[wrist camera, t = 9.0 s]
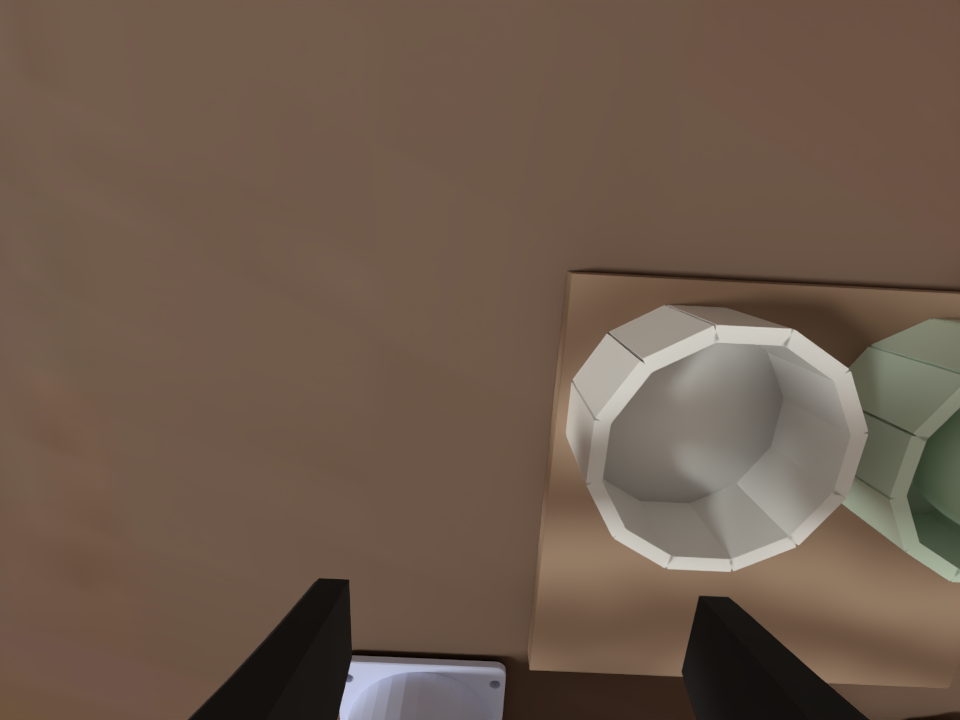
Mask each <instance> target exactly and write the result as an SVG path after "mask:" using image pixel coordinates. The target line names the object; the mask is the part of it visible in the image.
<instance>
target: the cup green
mask: <svg viewBox="0 0 960 720" xmlns="http://www.w3.org/2000/svg"><path fill="white" fill-rule="evenodd" d="M848 369H849V371H851V374H852V377H853V380H854V384H855V387H856V391H857V394H858V398H859V401H860V404H861V408H862V411H863V415H864V418H865V421H866V425H867V428H868V432H865V433H867V434H868V437H867V440H866V443H865V446H864V449H863V452H862V455H861V458H860V461H859V464H858V467H857V471H856V474H855V477H854V480H853V483H852V486H851V489H850V492H849V495H848V496H846V495H843V496H845V497H846V499H845V500H844V501H843V502H842V504H843V505H844V506H845V507H847V508H848V509H849V510H851V511H852V512H853V513H855V514H856V515H857V516H859V517H860V518H861V519H863V520H864V521H865V522H866V523H868V524H869V525H870V526H872V527H873V528H874V529H876V530H877V531H878V532H880V533H881V534H882V535H884V536H885V537H886V538H887V539H889V540H890V541H891V542H893V543H894V544H895V545H897V546H898V547H899V548H901V549H902V550H903V551H905V552H906V553H907V554H909V555H910V556H912V557H914V558H915V559H917V560H918V561H920V562H921V563H923V564H924V565H926V566H927V567H929V568H930V569H932V570H933V571H935V572H936V573H938V574H939V575H941V576H942V577H944V578H945V579H947V580H948V581H951V582H960V525H959V524H957V523H956V522H954V521H952V520H951V519H949V518H948V517H946V516H945V515H944V514H942V513H941V512H940V511H939V510H938V509H936V508H935V507H934V506H933V505H932V504H930V502H929V501H928V500H927V499H926V498H925V497H924V496H923V494H922V493H921V492H920V491H919V489H918V488H917V486H916V485H915V483H914V481H913V477H914V474H915V471H916V468H917V466H918V463H919V460H920V457H921V455H922V452H923V449H924V447H925V444H926V441H927V439H928V438H929V437H930V436H931V435H932V434H933V433H934V432H935V431H936V430H937V429H938V428H939V427H941V426H942V425H943V424H944V423H945V422H946V421H947V420H948V419H949V418H950V417H951V416H952V415H953V414H954V413H955V412H956V411H957V410H958V409H959V408H960V320H954V319H935V318H933V319H929V320H927V321H924V322H922V323H920V324H917V325H915V326H913V327H911V328H908V329H906V330H904V331H901V332H899V333H897V334H895V335H892V336H890V337H888V338H885V339H883V340H881V341H879V342H876V343H874V344H872V345H871V347H868V348H867V349H866V350H865V351H864V352H863V353H862V354H861V355H860V356H859V357H858V358H857V359H856V361H855V362H854V363H853V364H852V365H851V366H850V367H849V368H848Z"/></svg>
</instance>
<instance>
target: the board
mask: <svg viewBox="0 0 960 720" xmlns="http://www.w3.org/2000/svg"><path fill="white" fill-rule="evenodd" d="M664 305H665V306H667V305H684V306H703V307H723V308H729V309H732V310H735V311H738V312H741V313H744V314H747V315H751V316H754V317H757V318H760V319H763V320H766V321H769V322H772V323H776V324H779V325H782V326H785V327H788V328H791V329H794V330H796V331H798V332H799V333H800V334H802V335H803V336H804V337H806V338H807V339H809V340H810V341H811V342H813V343H814V344H815V345H817V346H818V347H820V348H821V349H822V350H824V351H825V352H826V353H828V354H829V355H831V356H832V357H833V358H835V359H836V360H837V361H839V362H840V363H842V364H843V365H844V366H846V367H847V368H849V367H850V366H851V365H852V364H853V363H854V362H855V361H856V359H857V358H858V357H859V356H860V355H861V354H862V353H863V352H864V351H865V350H866V349H867V348H868V347H871V345H872V344H874V343H876V342H879V341H881V340H883V339H885V338H888V337H890V336H892V335H895V334H897V333H899V332H901V331H904V330H906V329H908V328H911V327H913V326H915V325H917V324H920V323H922V322H924V321H927V320H929V319H933V318H935V319H954V320H960V292H955V291H936V290H917V289H898V288H879V287H860V286H841V285H822V284H803V283H784V282H765V281H746V280H727V279H707V278H688V277H669V276H650V275H631V274H612V273H593V272H574V271H567V277H566V287H565V296H564V306H563V316H562V325H561V335H560V344H559V354H558V363H557V373H556V383H555V392H554V402H553V411H552V421H551V431H550V440H549V450H548V459H547V469H546V478H545V488H544V498H543V507H542V517H541V526H540V536H539V545H538V555H537V565H536V574H535V584H534V593H533V603H532V612H531V622H530V632H529V641H528V659H529V668H530V670H541V671H564V672H587V673H610V674H633V675H656V676H679V677H683V675H682V672H681V671H682V667H683V663H684V658H685V654H686V650H687V645H688V641H689V637H690V633H691V628H692V624H693V620H694V615H695V611H696V607H697V603H698V598H699V596H720V597H729V598H731V599H732V600H733V601H734V602H735V603H736V604H738V605H739V606H740V607H741V608H742V609H744V610H745V611H746V612H747V613H748V614H749V615H750V616H752V617H753V618H754V619H755V620H756V621H757V622H758V623H759V624H761V625H762V626H763V627H764V628H765V629H766V630H767V631H768V632H769V633H771V634H772V635H773V636H774V637H775V638H776V639H777V640H778V641H780V642H781V643H782V644H783V645H784V646H785V647H786V648H787V649H789V650H790V651H791V652H792V653H793V654H794V655H795V656H796V657H797V658H799V659H800V660H801V661H802V662H803V663H804V664H805V665H806V666H808V667H809V668H810V669H811V670H812V671H813V672H814V673H816V674H817V675H818V676H819V677H820V678H821V679H822V680H824V681H825V682H826V683H840V684H863V685H886V686H909V687H932V688H949V686H950V684H951V682H952V680H953V677H954V675H955V673H956V671H957V669H958V667H959V664H960V582H951V581H948V580H947V579H945V578H944V577H942V576H941V575H939V574H938V573H936V572H935V571H933V570H932V569H930V568H929V567H927V566H926V565H924V564H923V563H921V562H920V561H918V560H917V559H915V558H914V557H912V556H910V555H909V554H907V553H906V552H905V551H903V550H902V549H901V548H899V547H898V546H897V545H895V544H894V543H893V542H891V541H890V540H889V539H887V538H886V537H885V536H884V535H882V534H881V533H880V532H878V531H877V530H876V529H874V528H873V527H872V526H870V525H869V524H868V523H866V522H865V521H864V520H863V519H861V518H860V517H859V516H857V515H856V514H855V513H853V512H852V511H851V510H849V509H848V508H847V507H845V506H844V505H843V504H842V503H841V504H840V505H839V506H838V507H837V508H836V509H835V510H834V511H833V512H832V513H831V514H830V515H829V516H828V517H827V518H826V519H825V520H824V521H823V522H822V523H821V524H820V525H819V526H818V527H817V528H816V529H815V530H814V531H813V532H812V533H811V534H810V535H809V536H808V537H807V538H806V539H805V540H804V541H803V542H802V543H801V544H800V545H797V544H795V545H796V548H793V549H790V550H788V551H785V552H783V553H780V554H777V555H775V556H772V557H770V558H767V559H764V560H762V561H759V562H757V563H754V564H752V565H749V566H746V567H744V568H741V569H739V570H736V571H733V570H732V569H731V572H721V571H699V570H677V569H667V568H666V567H665V568H663V567H662V566H660V565H658V564H656V563H655V562H653V561H651V560H650V559H648V558H646V557H644V556H643V555H641V554H639V553H638V552H636V551H634V550H632V549H631V548H629V547H627V546H626V545H624V544H622V543H620V542H619V541H617V540H615V539H614V538H613V537H612V535H611V533H610V531H609V530H608V528H607V526H606V524H605V522H604V520H603V518H602V516H601V514H600V512H599V510H598V508H597V506H596V504H595V502H594V500H593V498H592V496H591V494H590V492H589V490H588V488H587V486H586V483H585V481H584V479H583V476H582V474H581V471H580V469H579V466H578V464H577V461H576V459H575V456H574V454H573V452H572V449H571V447H570V444H569V442H568V439H567V437H566V426H567V417H568V408H569V400H570V391H571V382H574V381H573V378H574V377H575V376H576V374H577V373H578V372H579V370H580V369H581V368H582V366H583V365H584V364H585V362H586V361H587V359H588V358H589V357H590V355H591V354H592V353H593V351H594V350H595V349H596V347H597V346H598V345H599V343H600V342H601V341H602V339H603V338H604V337H605V335H606V334H609V335H610V332H609V331H611V330H613V329H616V328H618V327H620V326H622V325H624V324H626V323H628V322H630V321H632V320H634V319H636V318H639V317H641V316H643V315H645V314H647V313H649V312H651V311H653V310H655V309H657V308H659V307H662V306H664Z"/></svg>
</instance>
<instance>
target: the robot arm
mask: <svg viewBox="0 0 960 720" xmlns="http://www.w3.org/2000/svg"><path fill="white" fill-rule="evenodd" d="M681 672H682V675H683V678H684V682H685V685H686V688H687V691H688V694H689V697H690V701H691V704H692V707H693V710H694V712H695V715H696V718H697V720H869V719H868V718H867V717H865V716H864V715H863V714H862V713H861V712H859V711H858V710H857V709H856V708H855V707H854V706H852V705H851V704H850V703H849V702H848V701H847V700H845V699H844V698H843V697H842V696H841V695H840V694H838V693H837V692H836V691H835V690H834V689H833V688H832V687H830V686H829V685H828V684H827V683H826V682H825V681H824V680H822V679H821V678H820V677H819V676H818V675H817V674H816V673H814V672H813V671H812V670H811V669H810V668H809V667H808V666H806V665H805V664H804V663H803V662H802V661H801V660H800V659H799V658H797V657H796V656H795V655H794V654H793V653H792V652H791V651H790V650H789V649H787V648H786V647H785V646H784V645H783V644H782V643H781V642H780V641H778V640H777V639H776V638H775V637H774V636H773V635H772V634H771V633H769V632H768V631H767V630H766V629H765V628H764V627H763V626H762V625H761V624H759V623H758V622H757V621H756V620H755V619H754V618H753V617H752V616H750V615H749V614H748V613H747V612H746V611H745V610H744V609H742V608H741V607H740V606H739V605H738V604H736V603H735V602H734V601H733V600H732V599H731V598H729V597H720V596H699V598H698V603H697V607H696V611H695V615H694V620H693V624H692V628H691V633H690V637H689V641H688V645H687V650H686V654H685V658H684V663H683V667H682V671H681ZM495 680H496V681H495ZM505 682H506V669H505V666H504V665H503V664H502V663H500V662H493V661H470V660H448V659H425V658H402V657H379V656H356V655H352V644H351V618H350V592H349V580H344V579H322V578H319V579H318V580H317V581H316V582H314V583H313V585H312V586H311V587H310V588H309V589H308V591H307V592H306V593H305V594H304V595H303V596H302V598H301V599H300V600H299V601H298V602H297V603H296V605H295V606H294V607H293V608H292V609H291V610H290V612H289V613H288V614H287V615H286V616H285V617H284V619H283V620H282V621H281V622H280V623H279V624H278V625H277V626H276V628H275V629H274V630H273V631H272V632H271V633H270V634H269V635H268V637H267V638H266V639H265V640H264V641H263V642H262V643H261V644H260V645H259V646H258V648H257V649H256V650H255V651H254V652H253V653H252V654H251V655H250V656H249V657H248V658H247V659H246V661H245V662H244V663H243V664H242V665H241V666H240V667H239V668H238V669H237V670H236V671H235V672H234V673H233V675H232V676H231V677H230V678H229V679H228V680H227V681H226V682H225V683H224V684H223V685H222V686H221V687H220V688H219V689H218V690H217V691H216V692H215V693H214V694H213V695H212V696H211V697H210V698H209V699H208V700H207V701H206V702H205V703H204V704H203V705H202V706H201V707H200V708H199V709H198V710H197V711H196V712H195V713H194V714H193V715H192V716H191V717H190V718H189V719H188V720H337V717H338V714H339V710H340V720H502V716H503V704H504V693H505Z"/></svg>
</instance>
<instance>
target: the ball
mask: <svg viewBox="0 0 960 720" xmlns="http://www.w3.org/2000/svg"><path fill="white" fill-rule="evenodd" d="M913 481H914V483H915V485H916V486H917V488H918V489H919V491H920V492H921V493H922V494H923V496H924V497H925V498H926V499H927V500H928V501H929V502H930V504H932V505H933V506H934V507H935V508H936V509H938V510H939V511H940V512H941V513H942V514H944V515H945V516H946V517H948V518H949V519H951V520H952V521H954V522H956V523H957V524H959V525H960V408H959V409H958V410H957V411H956V412H955V413H954V414H953V415H952V416H951V417H950V418H949V419H948V420H947V421H946V422H945V423H944V424H943V425H942V426H941V427H939V428H938V429H937V430H936V431H935V432H934V433H933V434H932V435H931V436H930V437H929V438H928V439H927V441H926V444H925V447H924V449H923V452H922V455H921V457H920V460H919V463H918V466H917V468H916V471H915V474H914V477H913Z"/></svg>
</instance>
